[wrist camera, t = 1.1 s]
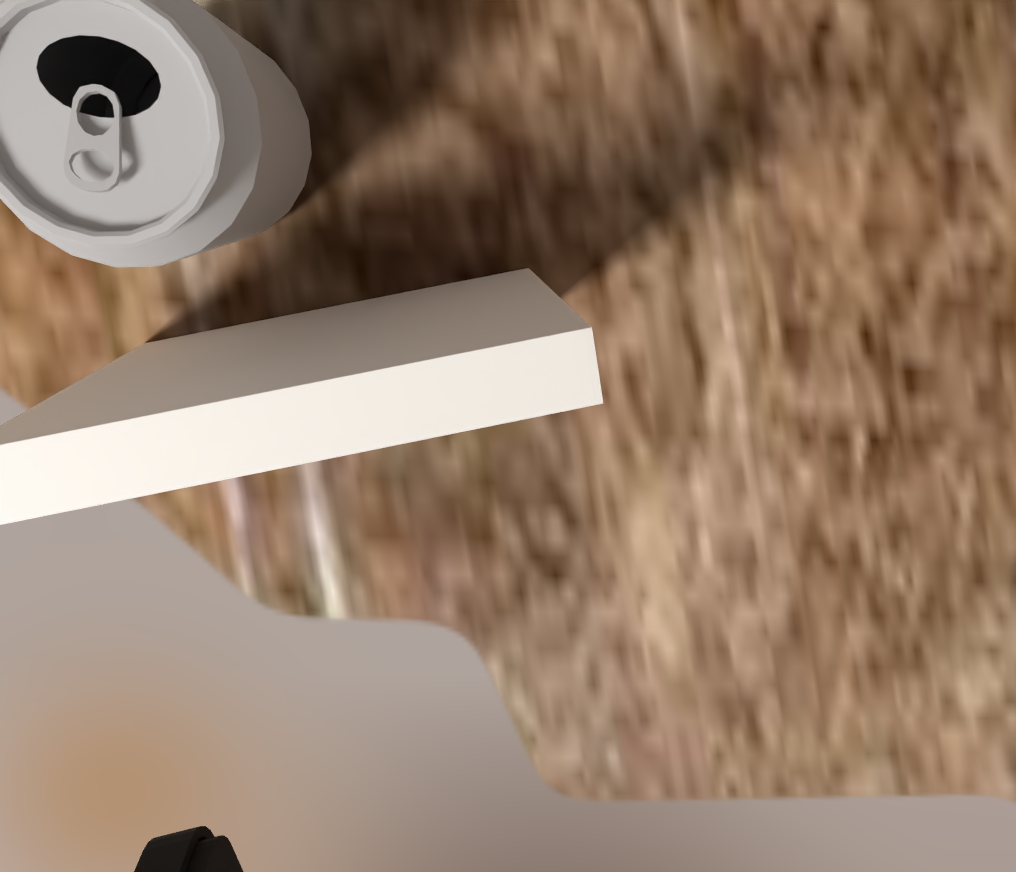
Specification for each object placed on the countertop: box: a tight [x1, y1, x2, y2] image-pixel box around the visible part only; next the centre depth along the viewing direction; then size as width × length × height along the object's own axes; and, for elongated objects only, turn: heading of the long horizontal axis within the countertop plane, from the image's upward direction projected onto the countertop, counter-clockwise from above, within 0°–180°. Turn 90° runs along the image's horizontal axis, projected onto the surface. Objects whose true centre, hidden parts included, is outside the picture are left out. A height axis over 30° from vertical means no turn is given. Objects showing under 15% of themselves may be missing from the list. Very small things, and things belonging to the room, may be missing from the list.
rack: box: [0, 268, 603, 525], centre depth 24 cm, size 22×19×14 cm
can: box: [0, 0, 312, 267], centre depth 25 cm, size 8×8×12 cm
